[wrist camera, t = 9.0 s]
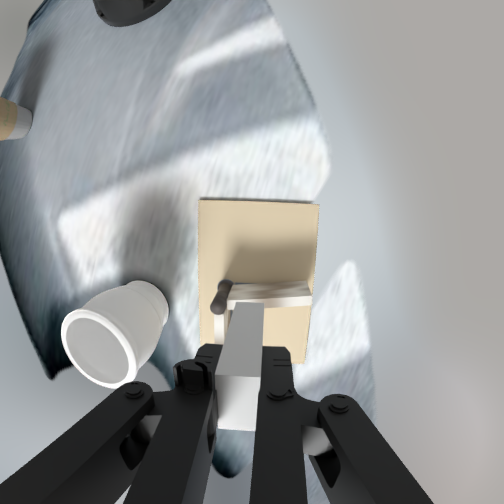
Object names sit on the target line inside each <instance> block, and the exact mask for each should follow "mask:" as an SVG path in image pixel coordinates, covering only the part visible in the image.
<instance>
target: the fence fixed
mask: <svg viewBox="0 0 504 504" xmlns="http://www.w3.org/2000/svg"><path fill="white" fill-rule="evenodd" d="M223 283H228V284H230V285H231V286H232V285H234V284H233V283H232V282H231V281H229V280H223V281H221V282H220V283H219V285H218V289H219V287H220V286H221V284H223ZM229 324H230V310H227V306H226V309H225V311H224V313H223V314H221V315H215V314H214V340H215V344H222V345H223V344H224V341H225V338H226V334H227V331H228V327H229Z"/></svg>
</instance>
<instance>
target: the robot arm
mask: <svg viewBox="0 0 504 504" xmlns="http://www.w3.org/2000/svg"><path fill="white" fill-rule="evenodd" d="M170 1H171V0H93V3H94V6H95V9H96V12H97V14H98V16H99V17H100V18H101V19H102V20H103V21H104V22H105V23H106V24H108V25H110V26H114V27H124V26H129V25H133V24H136V23H139V22H141V21H143V20H145V19H147V18H149V17H151V16H153V15H154V14H156V13H157V12H159V11H160V10H161V9H163V8H164V7H165V6H166V5H167V4H168V3H169V2H170ZM263 327H264V303H256V302H236V304H235V307H234V310H233V314H232V317H231V321H230V324H229V327H228V331H227V334H226V338H225V341H224V344H223V345H222V344H209V343H205V344H204V345H203V346H201V347H200V348H199V349H198V351H197V353H196V356H195V358H194V359H188V360H184V361H181V362H179V363H177V364H175V366H174V367H173V373H174V380H175V388H174V390H170V391H163V392H153V390H152V388H151V387H150V386H149V385H148V384H146V383H143V382H139V381H134V382H128V383H125V384H123V385H121V386H120V387H119V388H117V389H116V390H115V391H114V392H113V393H111V394H110V395H109V396H108V397H107V398H106V399H104V400H103V401H102V402H101V403H100V404H98V405H97V406H96V407H95V408H94V409H93V410H91V411H90V412H89V413H88V414H86V415H85V416H84V417H83V418H82V419H80V420H79V421H78V422H77V423H76V424H74V425H73V426H72V427H71V428H70V429H69V430H67V431H66V432H65V433H64V434H62V435H61V436H60V437H59V438H57V439H56V440H55V441H54V442H52V443H51V444H50V445H49V446H48V447H46V448H45V449H44V450H43V451H41V452H40V453H39V454H38V455H36V456H35V457H34V458H33V459H31V460H30V461H29V462H28V463H27V464H25V465H24V466H23V467H21V468H20V469H19V470H18V471H16V472H15V473H14V474H13V475H11V476H10V477H9V478H8V479H6V480H5V481H4V482H2V483H1V484H0V504H114V503H115V502H116V501H117V500H118V499H119V498H120V497H121V495H122V494H123V493H124V492H125V491H126V490H127V488H128V487H129V486H130V485H131V486H130V489H129V491H128V493H127V496H126V498H125V500H124V502H123V504H203V499H204V494H205V490H206V485H207V480H208V475H209V471H210V466H211V462H212V457H213V452H214V448H215V443H216V427H217V422H218V428H220V429H232V430H245V431H255V443H254V455H253V469H252V479H251V490H250V502H249V504H308V501H307V488H306V476H305V464H304V454H308V455H309V459H310V461H311V463H312V465H313V467H314V470H315V472H316V474H317V476H318V478H319V480H320V483H321V485H322V487H323V489H324V491H325V493H326V495H327V497H328V499H329V502H330V504H434V503H433V502H432V501H431V499H430V498H429V497H428V495H427V494H426V493H425V491H424V490H423V489H422V488H421V486H420V485H419V484H418V482H417V481H416V480H415V478H414V477H413V476H412V474H411V473H410V472H409V471H408V469H407V468H406V467H405V465H404V464H403V463H402V461H401V460H400V459H399V457H398V456H397V455H396V454H395V452H394V451H393V449H392V448H391V447H390V446H389V444H388V443H387V442H386V440H385V439H384V438H383V436H382V435H381V434H380V432H379V431H378V430H377V428H376V427H375V426H374V424H373V423H372V422H371V420H370V419H369V418H368V416H367V415H366V414H365V412H364V411H363V410H362V408H361V407H360V406H359V404H358V403H357V402H356V401H355V400H354V399H353V398H351V397H349V396H347V395H342V394H332V395H329V396H326V397H324V398H323V399H322V400H321V401H320V402H316V401H311V400H307V399H305V398H303V397H301V396H300V395H298V394H297V392H296V390H295V388H294V382H293V372H292V363H291V354H290V352H289V351H288V349H287V348H286V347H284V346H263Z"/></svg>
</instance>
